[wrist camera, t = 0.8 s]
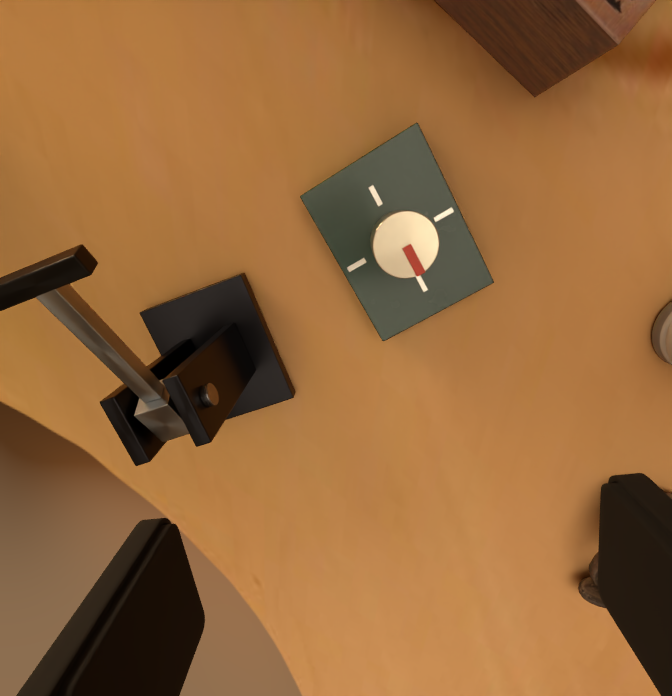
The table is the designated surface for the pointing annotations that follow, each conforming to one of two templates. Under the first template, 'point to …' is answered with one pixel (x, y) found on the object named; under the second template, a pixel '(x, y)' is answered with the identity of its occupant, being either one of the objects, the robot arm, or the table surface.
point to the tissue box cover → (546, 33)
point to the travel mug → (663, 334)
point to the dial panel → (384, 197)
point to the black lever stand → (205, 365)
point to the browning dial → (404, 243)
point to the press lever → (93, 332)
